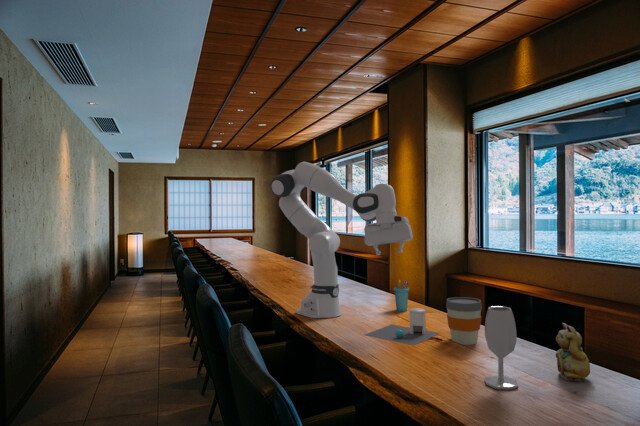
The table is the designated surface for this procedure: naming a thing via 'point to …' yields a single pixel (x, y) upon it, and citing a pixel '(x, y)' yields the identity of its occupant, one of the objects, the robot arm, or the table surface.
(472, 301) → the reusable coffee cup
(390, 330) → the charcoal mat
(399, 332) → the teal marble
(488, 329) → the wineglass
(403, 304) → the cup
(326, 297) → the robot arm
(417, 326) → the cream tumbler
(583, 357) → the decorative figurine
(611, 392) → the table surface
